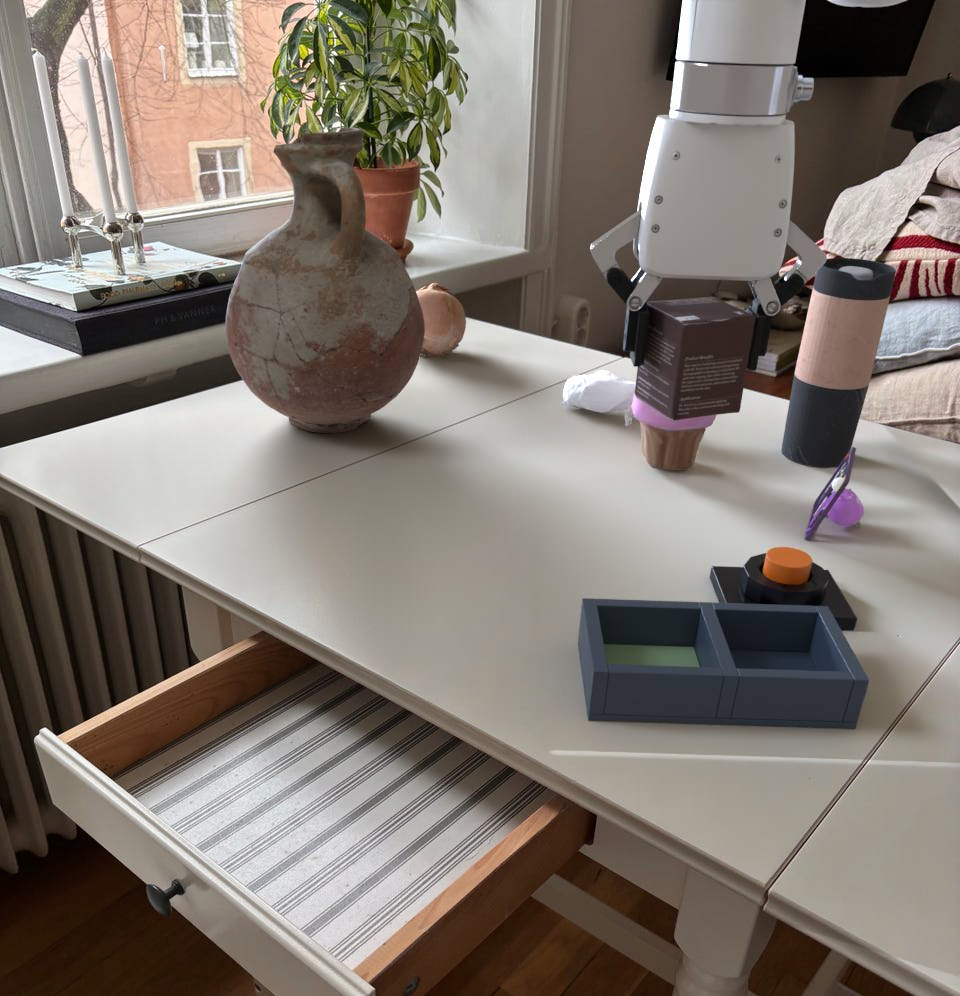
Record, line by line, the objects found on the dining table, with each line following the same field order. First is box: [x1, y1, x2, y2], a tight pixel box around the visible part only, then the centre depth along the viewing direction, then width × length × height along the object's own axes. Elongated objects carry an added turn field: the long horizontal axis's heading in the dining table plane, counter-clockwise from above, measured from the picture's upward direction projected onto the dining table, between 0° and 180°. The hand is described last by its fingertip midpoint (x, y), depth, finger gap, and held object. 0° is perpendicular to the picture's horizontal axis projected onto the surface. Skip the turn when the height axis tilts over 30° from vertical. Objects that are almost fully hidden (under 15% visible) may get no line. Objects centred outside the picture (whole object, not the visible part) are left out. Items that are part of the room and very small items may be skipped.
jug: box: [224, 127, 425, 434], centre depth 106 cm, size 22×22×30 cm
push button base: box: [709, 552, 858, 632], centre depth 81 cm, size 10×8×3 cm
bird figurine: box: [561, 369, 638, 427], centre depth 117 cm, size 5×7×10 cm
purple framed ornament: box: [804, 446, 865, 542], centre depth 92 cm, size 7×5×9 cm
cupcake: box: [632, 394, 717, 471], centre depth 103 cm, size 9×9×10 cm
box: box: [635, 296, 755, 421], centre depth 74 cm, size 6×6×7 cm
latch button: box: [762, 546, 813, 585], centre depth 79 cm, size 4×4×2 cm
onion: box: [415, 282, 467, 358], centre depth 134 cm, size 10×9×10 cm
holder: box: [577, 597, 870, 730], centre depth 70 cm, size 18×10×4 cm, turn 89°
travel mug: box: [781, 257, 897, 468], centre depth 104 cm, size 8×8×20 cm
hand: (691, 361), depth 74 cm, fingers closed on box, 7 cm apart
